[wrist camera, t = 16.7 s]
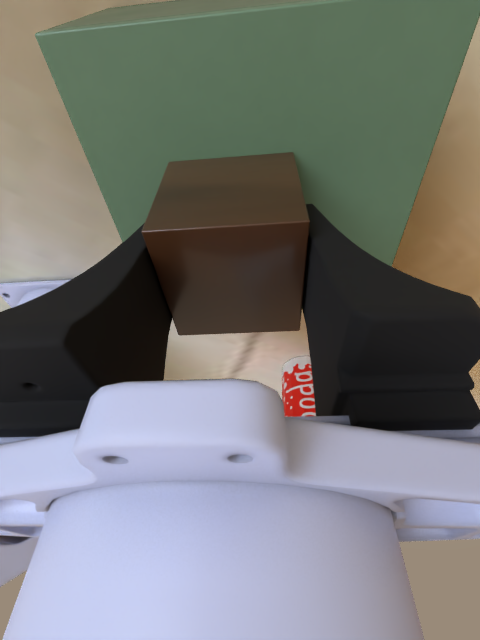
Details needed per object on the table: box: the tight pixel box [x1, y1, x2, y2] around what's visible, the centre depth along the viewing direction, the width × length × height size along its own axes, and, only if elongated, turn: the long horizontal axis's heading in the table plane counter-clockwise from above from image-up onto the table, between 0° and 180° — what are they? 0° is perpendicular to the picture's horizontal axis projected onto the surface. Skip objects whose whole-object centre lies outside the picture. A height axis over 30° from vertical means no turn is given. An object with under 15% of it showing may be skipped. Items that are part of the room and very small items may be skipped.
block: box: [142, 152, 310, 335], centre depth 11 cm, size 4×4×4 cm
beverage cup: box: [282, 356, 316, 417], centre depth 29 cm, size 6×6×14 cm
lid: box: [35, 0, 480, 266], centre depth 13 cm, size 12×12×1 cm
